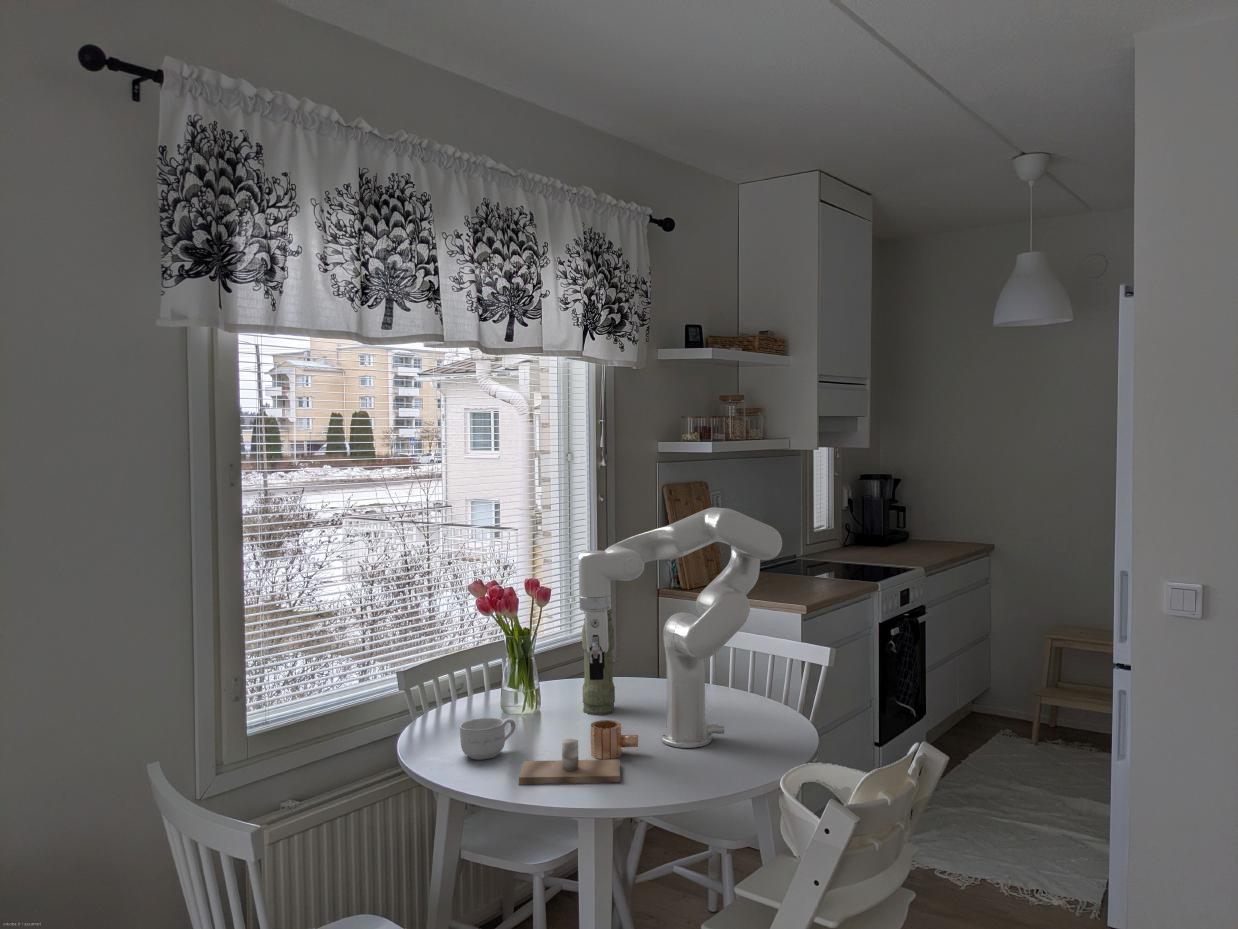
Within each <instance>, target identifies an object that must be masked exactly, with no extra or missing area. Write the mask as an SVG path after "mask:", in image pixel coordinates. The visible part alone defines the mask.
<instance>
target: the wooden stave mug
mask: <svg viewBox="0 0 1238 929" xmlns="http://www.w3.org/2000/svg"><path fill="white" fill-rule="evenodd" d="M622 748H639V735H638V734H622V723H621V722H619V721H616V720H611V719H610V720H609V719H605V720H604V719H601V720H597V721H593V722H592V723H590V756H591V757H592V756H593V757H592V758H595V759H597V758H598V759H597V760H615V759H617V758H618V759H619V758H620V757H621V756H622Z"/></svg>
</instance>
